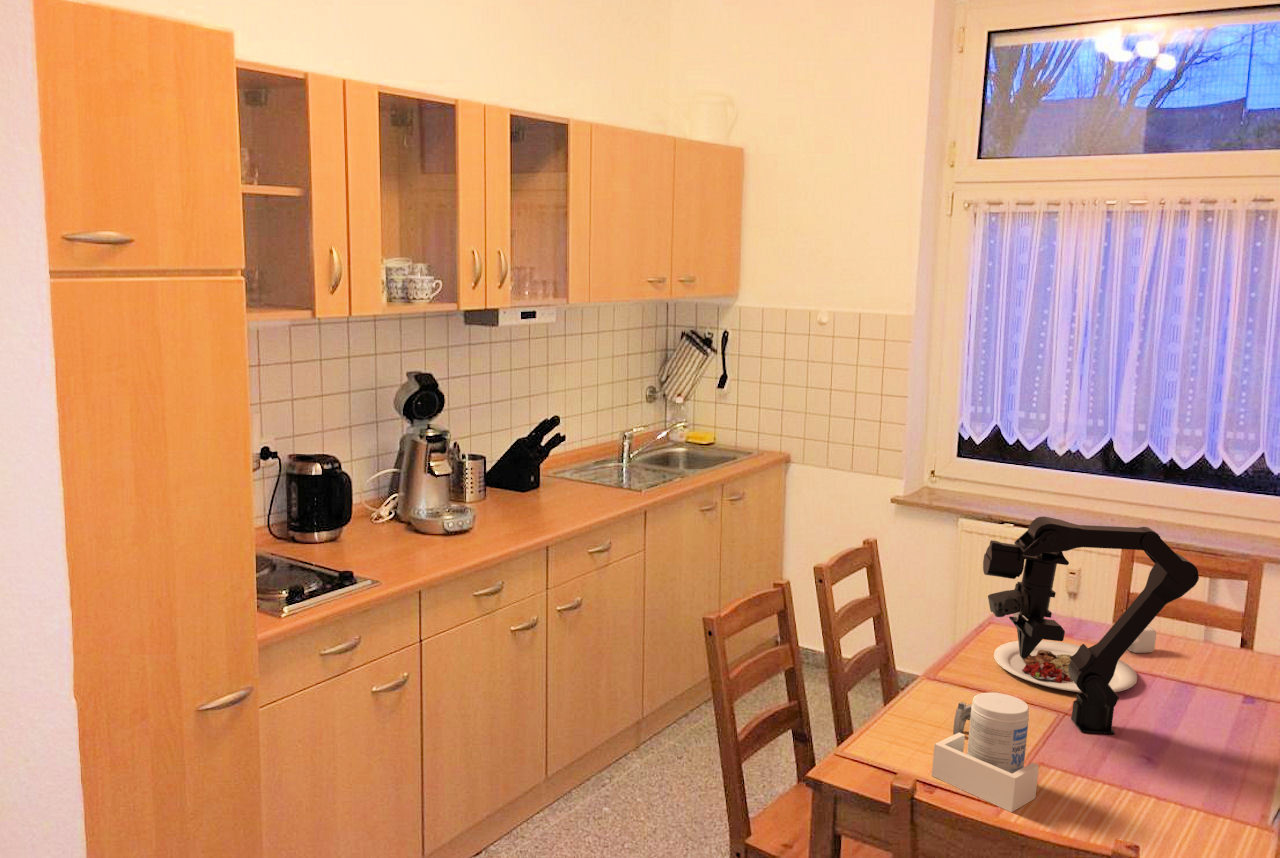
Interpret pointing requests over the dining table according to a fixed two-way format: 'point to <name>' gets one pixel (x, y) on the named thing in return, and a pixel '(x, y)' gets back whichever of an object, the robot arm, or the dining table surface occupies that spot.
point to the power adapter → (1144, 641)
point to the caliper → (961, 717)
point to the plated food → (1054, 666)
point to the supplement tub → (998, 730)
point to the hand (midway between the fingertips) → (1023, 657)
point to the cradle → (983, 775)
